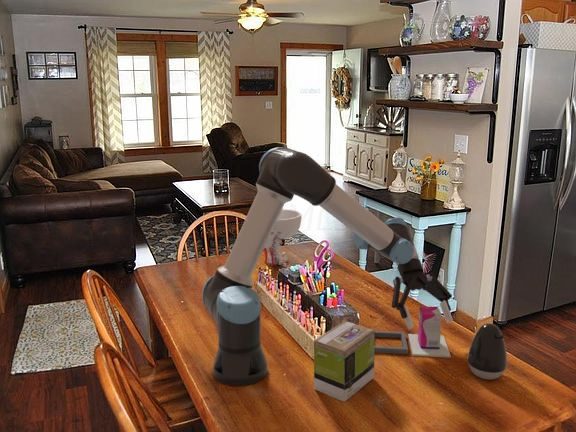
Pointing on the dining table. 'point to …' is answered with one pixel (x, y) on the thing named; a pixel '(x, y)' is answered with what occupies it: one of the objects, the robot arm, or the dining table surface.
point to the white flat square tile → (428, 352)
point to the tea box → (344, 360)
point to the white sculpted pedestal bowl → (282, 235)
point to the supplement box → (429, 327)
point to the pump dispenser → (488, 352)
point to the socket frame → (392, 349)
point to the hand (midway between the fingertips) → (430, 324)
